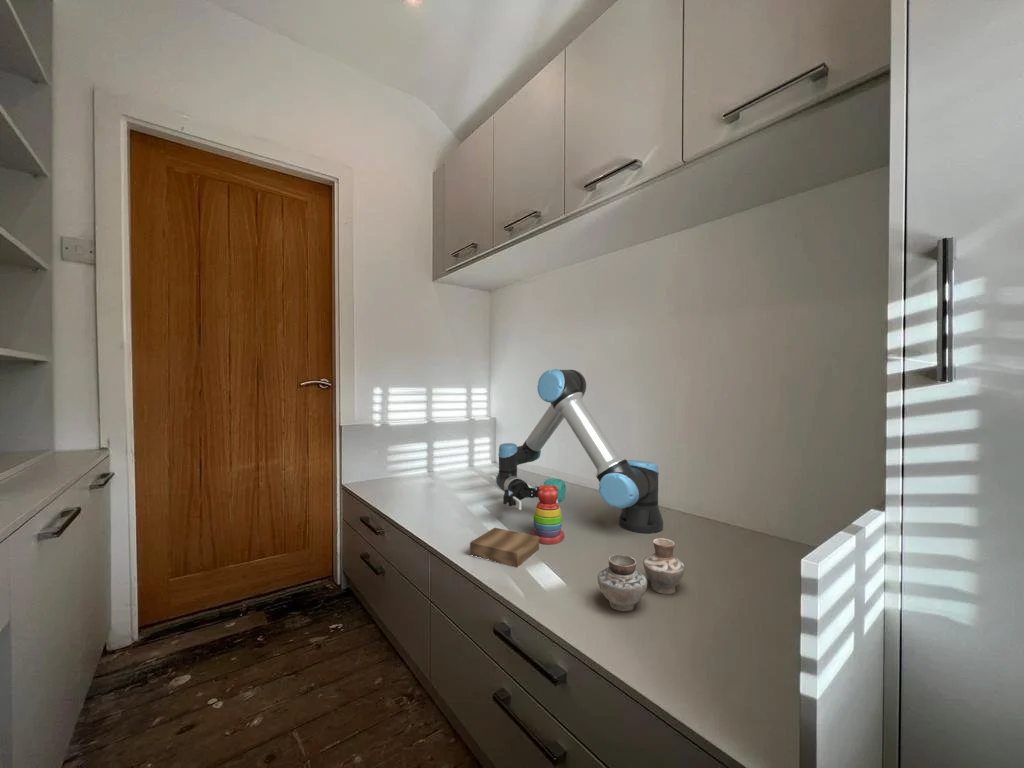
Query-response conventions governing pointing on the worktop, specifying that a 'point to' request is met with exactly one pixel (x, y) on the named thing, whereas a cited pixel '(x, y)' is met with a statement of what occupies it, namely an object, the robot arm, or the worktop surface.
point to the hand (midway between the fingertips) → (538, 503)
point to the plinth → (505, 546)
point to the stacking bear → (548, 516)
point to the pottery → (640, 576)
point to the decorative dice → (560, 485)
